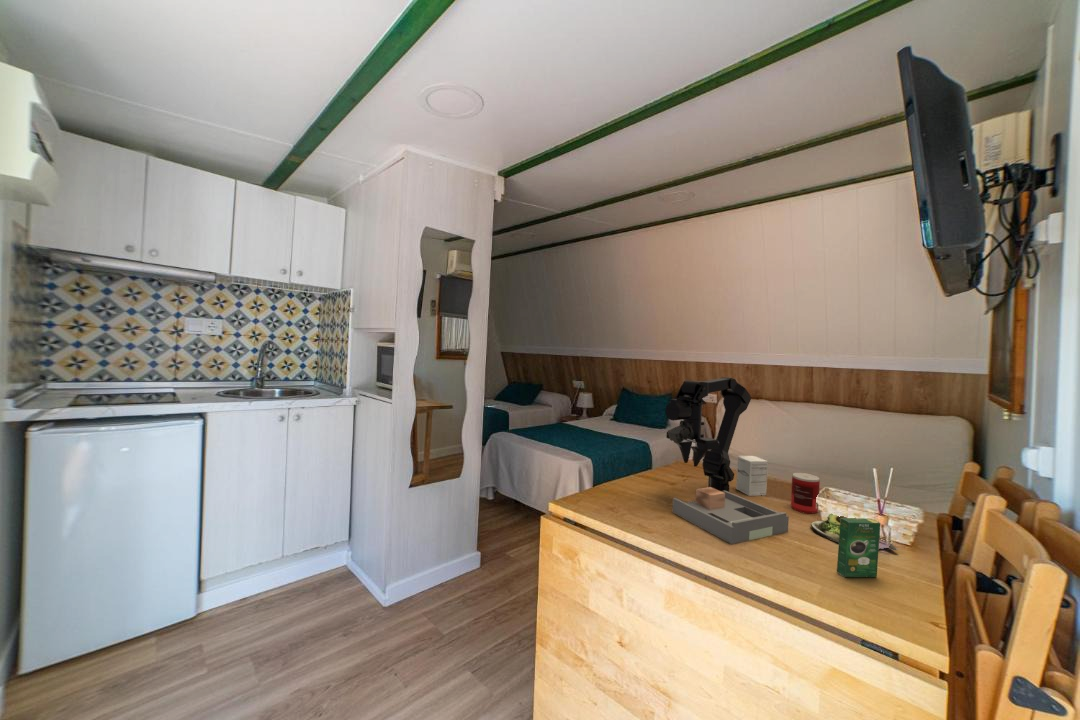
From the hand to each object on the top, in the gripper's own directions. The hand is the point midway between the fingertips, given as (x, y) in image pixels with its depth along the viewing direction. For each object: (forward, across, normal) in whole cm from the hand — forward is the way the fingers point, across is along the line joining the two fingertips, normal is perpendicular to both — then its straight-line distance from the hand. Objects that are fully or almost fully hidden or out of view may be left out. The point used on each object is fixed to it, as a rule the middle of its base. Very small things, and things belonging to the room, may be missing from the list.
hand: (690, 464), depth 142 cm
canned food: (+13, +18, +32) cm, 39 cm away
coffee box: (+13, +50, +4) cm, 51 cm away
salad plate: (+14, +36, +26) cm, 46 cm away
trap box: (+13, +16, 0) cm, 21 cm away
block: (+10, +9, 0) cm, 14 cm away
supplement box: (+13, 0, +30) cm, 32 cm away
